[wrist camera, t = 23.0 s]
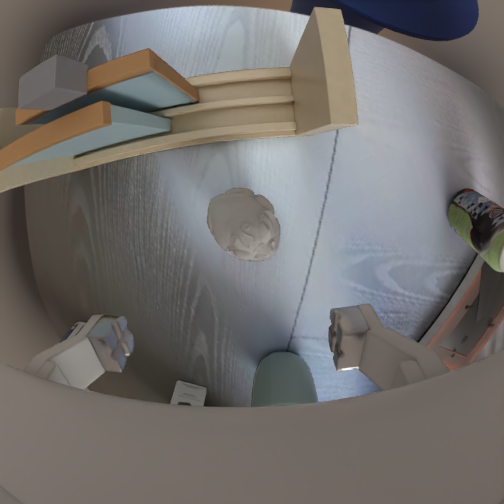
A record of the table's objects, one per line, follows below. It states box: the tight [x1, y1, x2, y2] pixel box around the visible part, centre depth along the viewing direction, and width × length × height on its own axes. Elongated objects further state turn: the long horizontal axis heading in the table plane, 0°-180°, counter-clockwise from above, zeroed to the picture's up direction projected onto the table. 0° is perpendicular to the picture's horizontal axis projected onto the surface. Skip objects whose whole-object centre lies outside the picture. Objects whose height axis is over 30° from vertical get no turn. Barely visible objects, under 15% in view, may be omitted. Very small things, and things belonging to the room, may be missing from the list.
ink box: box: [170, 380, 207, 406], centre depth 33 cm, size 9×5×12 cm, turn 164°
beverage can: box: [448, 189, 504, 272], centre depth 21 cm, size 6×7×12 cm
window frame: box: [0, 7, 358, 192], centre depth 17 cm, size 7×26×14 cm, turn 95°
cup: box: [251, 351, 318, 407], centre depth 31 cm, size 8×8×10 cm
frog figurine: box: [207, 188, 280, 261], centre depth 24 cm, size 6×7×7 cm
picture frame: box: [419, 254, 504, 370], centre depth 31 cm, size 16×2×22 cm
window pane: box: [15, 48, 199, 125], centre depth 15 cm, size 2×11×16 cm, turn 95°
